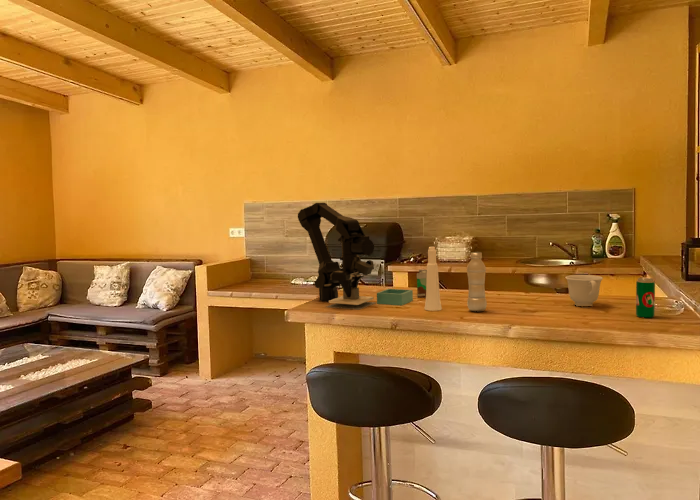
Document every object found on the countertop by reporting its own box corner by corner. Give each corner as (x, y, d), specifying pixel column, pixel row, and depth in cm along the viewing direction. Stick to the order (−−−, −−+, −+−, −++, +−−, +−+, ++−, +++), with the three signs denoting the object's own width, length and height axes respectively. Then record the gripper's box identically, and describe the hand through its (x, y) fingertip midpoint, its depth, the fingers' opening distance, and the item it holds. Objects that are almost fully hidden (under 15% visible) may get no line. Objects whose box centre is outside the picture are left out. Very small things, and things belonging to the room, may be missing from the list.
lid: (328, 302, 192) (328, 289, 192) (345, 297, 202) (344, 284, 202) (357, 304, 186) (357, 291, 186) (373, 298, 196) (373, 286, 196)
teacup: (576, 311, 175) (576, 281, 174) (559, 302, 190) (559, 275, 189) (613, 310, 175) (613, 280, 174) (593, 302, 190) (594, 274, 189)
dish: (377, 306, 195) (376, 292, 194) (388, 301, 204) (388, 288, 203) (402, 308, 190) (401, 294, 190) (412, 303, 199) (412, 290, 198)
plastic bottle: (473, 313, 177) (472, 254, 175) (463, 310, 183) (462, 252, 181) (490, 312, 178) (489, 252, 177) (480, 308, 185) (479, 251, 183)
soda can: (637, 314, 167) (638, 276, 166) (655, 316, 164) (656, 277, 163) (634, 317, 164) (634, 278, 163) (652, 319, 160) (653, 280, 159)
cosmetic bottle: (431, 306, 191) (430, 245, 189) (445, 308, 186) (444, 246, 184) (421, 309, 186) (419, 247, 184) (435, 311, 182) (433, 247, 180)
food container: (433, 298, 206) (432, 273, 206) (417, 298, 208) (416, 273, 207) (434, 293, 218) (434, 269, 218) (419, 293, 220) (418, 269, 219)
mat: (325, 309, 192) (325, 307, 192) (344, 302, 204) (344, 300, 204) (359, 312, 185) (359, 309, 185) (377, 305, 197) (377, 302, 197)
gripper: (356, 257, 181) (358, 302, 182) (381, 251, 197) (382, 293, 198) (329, 256, 186) (330, 300, 188) (354, 251, 202) (356, 291, 204)
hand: (351, 296), depth 194 cm, fingers closed on lid, 3 cm apart
